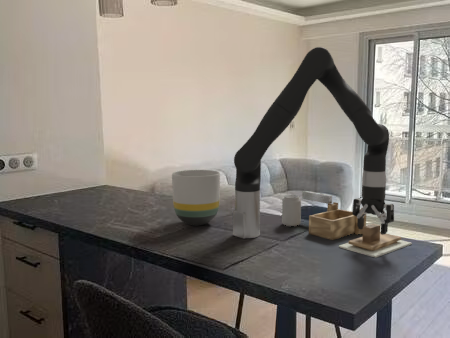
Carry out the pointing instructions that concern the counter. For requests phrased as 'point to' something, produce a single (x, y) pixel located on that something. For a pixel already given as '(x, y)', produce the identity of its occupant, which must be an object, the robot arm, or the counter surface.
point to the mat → (379, 251)
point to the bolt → (317, 197)
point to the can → (291, 210)
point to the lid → (374, 238)
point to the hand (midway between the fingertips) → (372, 231)
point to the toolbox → (334, 223)
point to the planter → (196, 195)
